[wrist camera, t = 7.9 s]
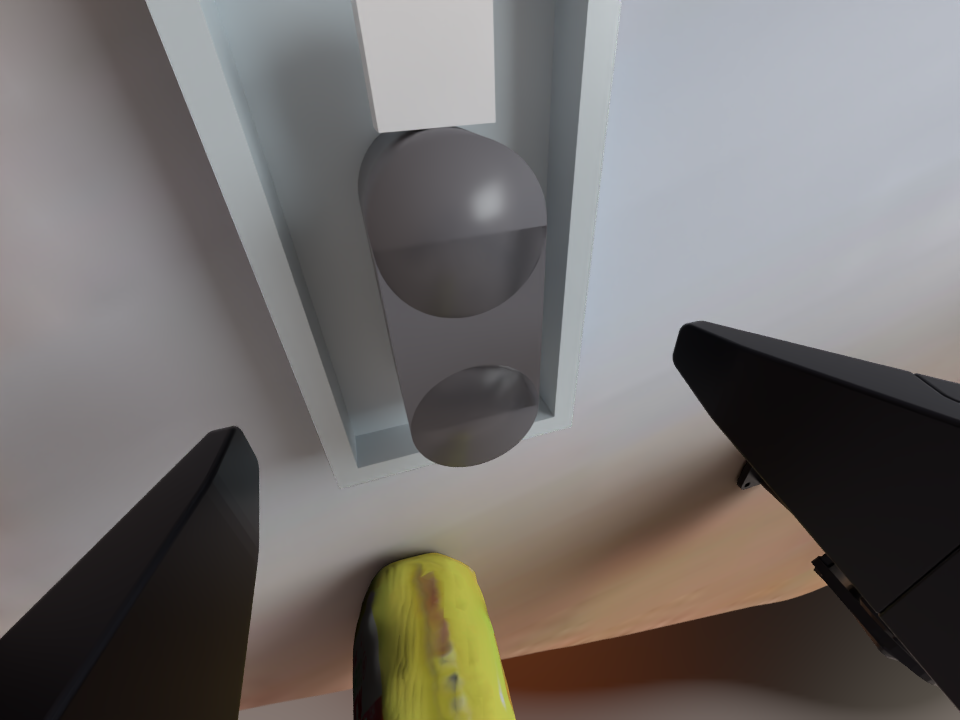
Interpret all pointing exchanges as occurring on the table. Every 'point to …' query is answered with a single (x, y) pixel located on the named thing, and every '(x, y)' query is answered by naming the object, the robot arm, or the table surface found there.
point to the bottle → (427, 646)
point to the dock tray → (335, 201)
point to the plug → (450, 230)
